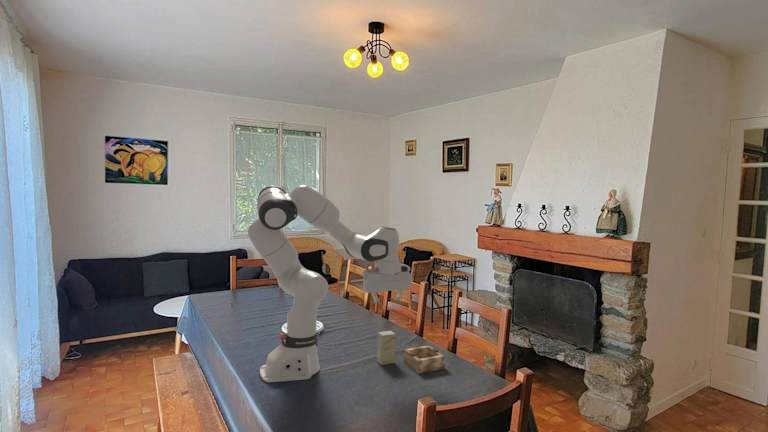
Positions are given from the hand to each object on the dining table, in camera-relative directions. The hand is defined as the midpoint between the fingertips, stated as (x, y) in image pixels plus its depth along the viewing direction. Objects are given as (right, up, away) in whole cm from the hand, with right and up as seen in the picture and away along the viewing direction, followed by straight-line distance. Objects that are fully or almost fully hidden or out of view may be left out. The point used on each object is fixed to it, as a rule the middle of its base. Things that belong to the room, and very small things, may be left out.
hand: (387, 301), depth 165 cm
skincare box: (0, -25, +2) cm, 25 cm away
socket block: (+15, -25, 0) cm, 29 cm away
